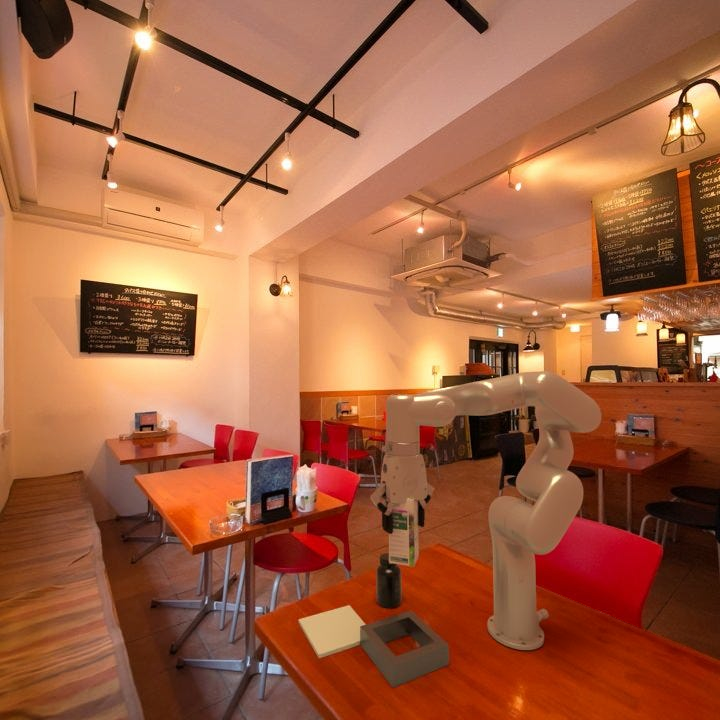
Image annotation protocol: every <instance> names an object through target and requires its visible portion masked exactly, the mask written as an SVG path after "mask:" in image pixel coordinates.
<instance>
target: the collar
mask: <svg viewBox="0 0 720 720" xmlns="http://www.w3.org/2000/svg"><path fill="white" fill-rule="evenodd" d="M365 624H366V625H363V626H360V645H359V646H360V647H361V649H362V650H364V652H365V653H366V654H367V656H368V657H369V659H370V660H371V661H372V663H373V664H374V666H375V667H376V668H377V669H378V671H379V672H380V673H381V674H382V676H383V677H384V678H385V679H386V680H387V682H388V683H389V685H390V686H391V687H392V688H396V687H398V686H401V685H404V684H406V683H408V682H410V681H412V680H415V679H418V678H420V677H422V676H425V675H427V674H429V673H432V672H434V671H437V670H440V669H441V668H444V667H446V666H448V665H449V664H450V653H449V652H450V647H449V646H450V645H449V644H448V642H446V641H445V639H443V638H442V637H441V636H440V634H437V633H436V631H434V630H433V629H432V628H431V627H430V626H429V625H428V624H427V623H425V621H424V620H422V619H421V618H420V617H419V616H418V615H417V614H416V613H415V612H413V611H412V610H407V611H405V612H402V613H398V614H396V615H392V616H389V617H386V618H383V619H382V618H381V619H378V620H376V621H373V622H369V623H365ZM405 636H410V637H411V638H412V639H413V640H414V641H415V643H416V644H417V645H419V648H416V649H413V650H410V651H407V652H405V653H402V654H400V655H397V656H396V655H395V653H394V652H392V650H391V649H390V648H389V647H388V646H387V644H386V643H388V642H391V641H394V640H397V639H400V638H403V637H405ZM449 666H450V665H449Z"/></svg>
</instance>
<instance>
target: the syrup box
mask: <svg viewBox="0 0 720 720" xmlns="http://www.w3.org/2000/svg"><path fill="white" fill-rule="evenodd" d="M388 503H389V502H388ZM390 514H391V515H392V516H393V533H392V534H389V533H388V553H389V563H390V564H392V563H393V564H397V565H398V566H399V565H401V566H407V567H412V568H414V567H415V565H416V563H417V561H418V559H419V556H420V553H419V552H420V551H419V548H420V547H419V546H420V545H419V526H418V501H414V497H410V498H407V500H406V503H403V504H394V507H393V509H392V511H391V513H390Z"/></svg>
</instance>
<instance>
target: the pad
mask: <svg viewBox="0 0 720 720" xmlns="http://www.w3.org/2000/svg"><path fill="white" fill-rule="evenodd" d="M366 624H367V623H365V622H364V621H363V620H362V618H361V617H360V616H359V614H357V613H356V611H355V610H354V608H352V606H351V605H350V604H349V605H348V604H347V605H345V606H341V607H338V608H334V609H332V610H326V611H324V612H320V613H317V614H314V615H309V616H306V617H303V618H299V619H298V625H299V627H300V628H301V630H302V631H303V634H304V636H305V638H306V639H307V641H308V642H309V644H310V645H311V648H312V649H313V650H314V653H315V655H316V657H317V658H318V659H322V658H324V657H327V656H331V655H333V654H336V653H339V652H343V651H346V650H348V649H351V648H354V647H356V646H357V647H358V646H361V645H360V626H363V625H366Z"/></svg>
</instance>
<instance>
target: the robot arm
mask: <svg viewBox="0 0 720 720" xmlns="http://www.w3.org/2000/svg"><path fill="white" fill-rule="evenodd" d="M525 407H535V409H534V413H535V415H534V417H535V419H536V422H537V425H538V429H539V430H538V432H539V438H538V441H537V444H536V446H535V447H534V449H533V450H532V452H531V454H529V455H530V456H529V457H528V458H527V460H526V461H525V462H524V465H523V466H522V468H521V469H520V471H519V472H518V474H517V476H516V479H515V487H516V489H517V491H518V492H519V493H520V494H521V495H522V496H524V498H526V499H529V500H531V501H533V502H535V504H534V505H533V504H531V503H529V502H527V501H525V500H522V499H520V498H518V497H514V496H511V495H510V496H509V495H502V496H499V497H496V498H495V499H494V500H493V501H492V502H491V503H490V506H489V508H488V509H489V510H488V515H487V516H488V525H489V530H490V531H489V532H490V537H491V544H492V574H493V575H492V577H493V578H492V579H493V582H492V583H493V615H491V616H490V617H489V618H488V620H487V621H486V622H487V623H486V624H487V626H486V627H487V631H488V633H489V634H490V636H491V637H492V638H493V639H494V640H495V641H497V642H499V644H501V645H504V646H506V647H508V648H510V649H515V650H520V651H533V650H537V649H539V648H540V647H542V646H543V644H544V642H545V633H544V631H543V629H542V628H541V627H540V623H541V621H542V620H545V619H547V618H549V616H550V615H549V612H548V610H547V609H545V608H541V609H539V610H537V589H536V587H537V583H536V580H537V578H536V576H537V575H536V558H535V557H536V556H535V555H539V556H540V555H541V556H543V555H547V554H549V553H551V552H552V551H553V550H555V549H556V547H557V546H558V545H559V543H560V542H561V541H562V539H563V537H564V535H565V534H566V532H567V531H568V529H569V527H570V525H571V524H572V522H573V520H574V519H575V517H576V516H577V514H578V512H579V510H580V508H581V506H582V504H583V500H584V486H583V483H582V481H581V479H580V478H579V477H578V475H576V474H575V473H574V472H572V471H570V470H569V469H568V468H569V466H570V464H571V462H572V461H573V457H574V454H575V453H574V444H573V440H572V436H571V433H570V432H573V433H581V434H582V433H583V434H584V433H585V434H586V433H590V432H593V431H595V430H596V429H597V428H598V427H599V426H600V424H601V422H602V410H601V409H600V407H599V405H598V404H597V402H596V401H595V400H594V399H593V398H592V397H590V396H589V395H588V394H586V393H585V392H584V391H582V390H581V389H579V388H578V387H577V386H575V385H574V384H572V383H571V382H569V381H568V380H567V379H565V378H564V377H562V376H561V375H559V374H557V373H555V372H552V371H548V370H545V371H543V370H542V371H523V372H518V373H512V374H507V375H504V376H499V377H495V378H489V379H483V380H479V381H473V382H468V383H464V384H458V385H454V386H448V387H444V388H443V387H442V388H437V389H433V390H432V389H431V390H427V391H423V392H422V391H421V392H418V393H417V394H414V395H413V394H391V395H389V396H387V399H386V401H385V411H386V412H385V430H386V431H385V438H386V440H385V445H382V447H381V450H382V452H383V453H385V455H384V456H383V461H382V464H381V465H382V466H381V475H380V476H381V477H380V485H379V486H378V487H377V488H376V489H375V490H374V492H373V493H372V494H370V495H369V496H370V497H369V499H370V500H371V502H372V503H373V504H374V506H375V507H376V508H377V510H379V512H381V527H382V530H383V531H384V532H385V533H388V535H389V534H392V533H393V516H392V515H391V514H390V513H391V511H392V509H393V507H394V504H403V503H406V500H407V498H410V497H414V501H418V527H421V528H424V527H425V520H426V518H425V515H426V514H425V509H427V507H428V503H429V501H430V500H431V499H432V497H431V496H433V493H434V491H435V487H434V486H433V485H431V484H430V483H429V482H428V478H427V469H426V464H425V463H426V462H425V459H424V455H423V454H421V453H420V452H421V450H420V445H421V444H420V426H426V427H436V428H440V427H441V428H442V427H446V426H447V425H450V424H451V423H452V422H453V421H454V420H455V418H456V417H457V416H478V417H480V416H491V415H496V414H500V413H503V412H508V411H512V410H517V409H521V408H525ZM380 499H382V501H381V500H380ZM388 502H389V503H388Z"/></svg>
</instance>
